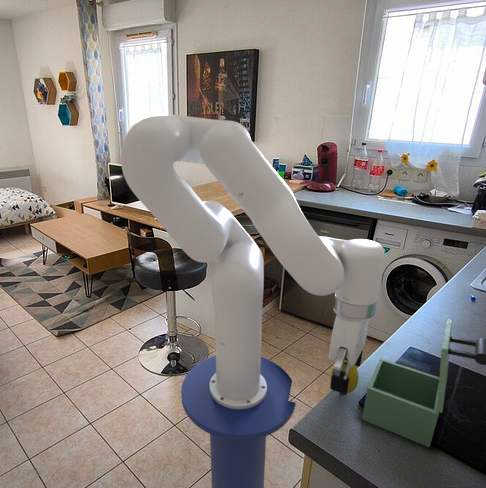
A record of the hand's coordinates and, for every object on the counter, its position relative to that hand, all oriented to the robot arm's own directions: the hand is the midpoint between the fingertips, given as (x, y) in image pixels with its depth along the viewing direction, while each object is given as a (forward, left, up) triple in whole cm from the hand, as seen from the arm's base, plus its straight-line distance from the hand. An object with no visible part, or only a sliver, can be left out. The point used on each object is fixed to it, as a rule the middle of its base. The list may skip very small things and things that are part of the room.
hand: (345, 376), depth 75 cm
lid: (+12, +9, +10) cm, 18 cm away
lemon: (0, 0, -4) cm, 4 cm away
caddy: (+9, +6, -4) cm, 11 cm away
